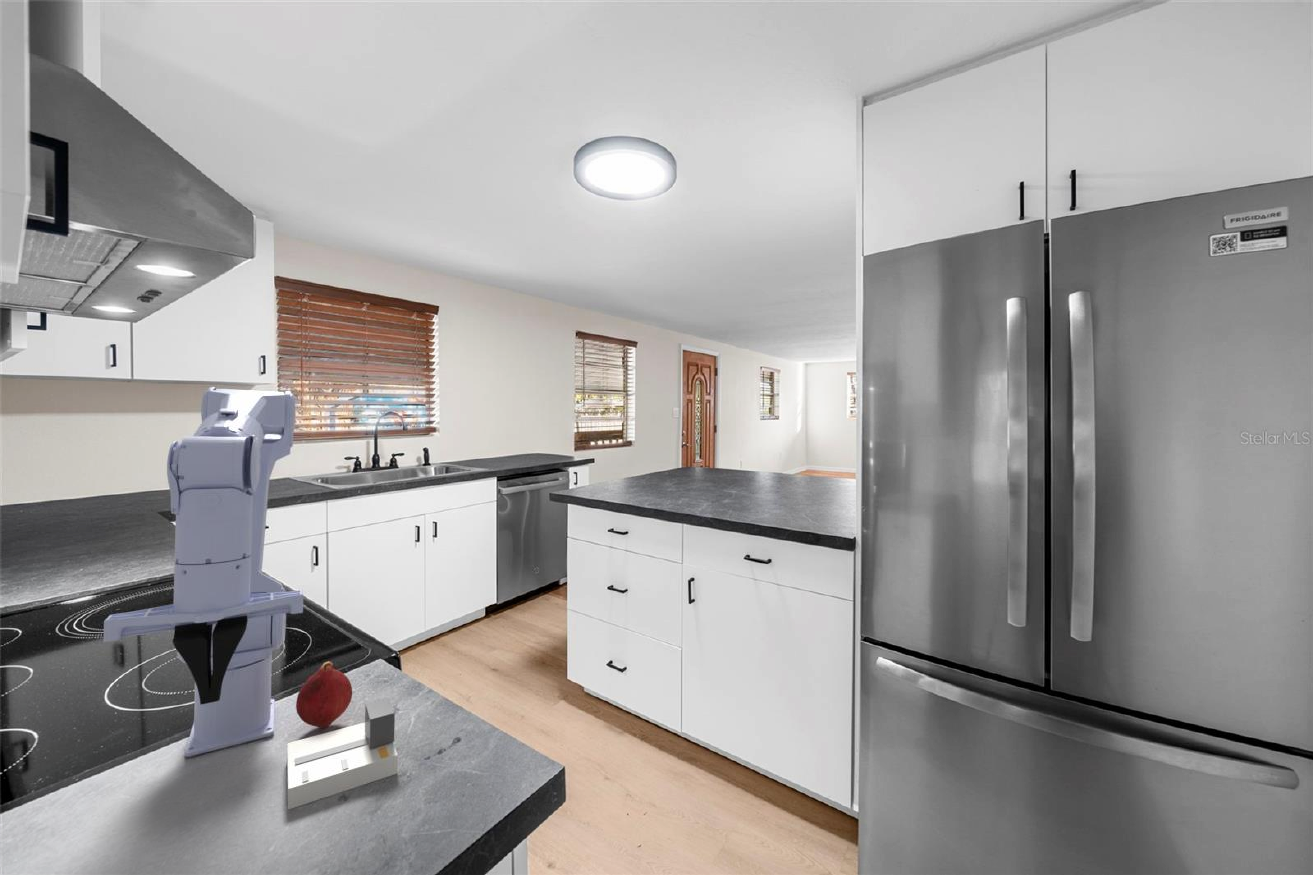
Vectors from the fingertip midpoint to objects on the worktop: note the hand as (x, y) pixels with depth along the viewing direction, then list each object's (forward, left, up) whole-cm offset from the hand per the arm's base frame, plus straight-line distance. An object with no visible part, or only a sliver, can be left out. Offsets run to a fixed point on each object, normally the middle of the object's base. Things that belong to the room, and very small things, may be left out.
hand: (210, 698), depth 50 cm
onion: (-10, +10, -11) cm, 17 cm away
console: (0, +11, -10) cm, 15 cm away
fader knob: (0, +15, -8) cm, 17 cm away
